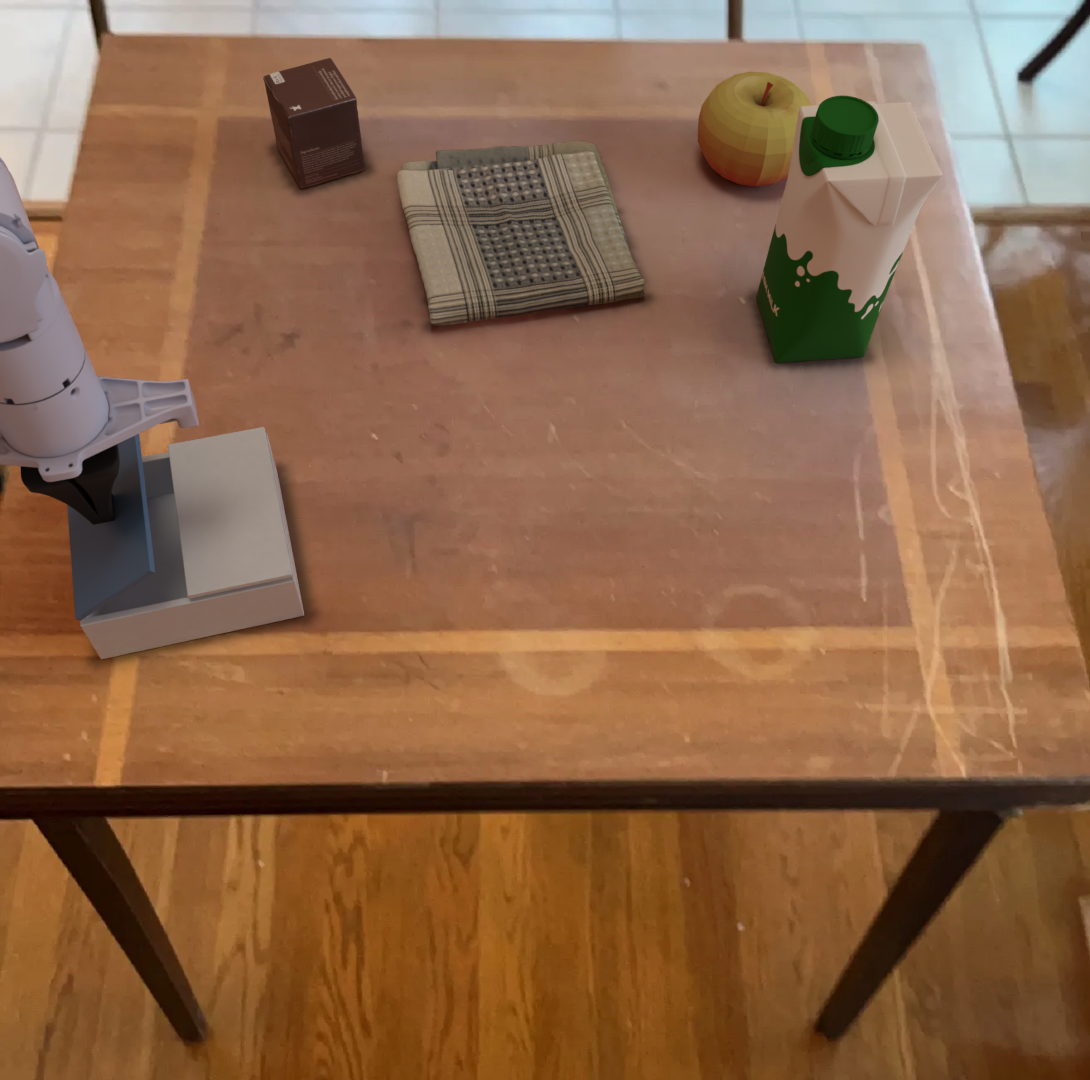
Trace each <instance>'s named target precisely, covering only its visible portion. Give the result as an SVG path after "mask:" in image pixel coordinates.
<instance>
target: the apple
mask: <svg viewBox="0 0 1090 1080" xmlns="http://www.w3.org/2000/svg"><path fill="white" fill-rule="evenodd" d="M801 106H812V104H811V101H810V98H808V96H807V95H806V93H805V92H804V91H803V90H802V89H801V88H800V87H799V86H798V85H797V84H796V83H794V82H793V81H790V80H789V79H787V78H785V77H783V76H780V75H777V74H773V73H769V72H767V71H766V72H765V71H747V72H746V71H745V72H741V73H736V74H734V75H732V76H730V77H728V78H726V79H725V80H723V81H721V82H719V83H717V84H716V85H715V86H714V88H713V89H712V91H711V92H710V93H709V94H708V95H707V97H706V99H705V100H704V101H703V102H702V104H701V108H700V111H699V115H698V124H697V143H698V145H699V148H700V150H701V153H702V155H703V157H704V159H705V160H706V162H707V164H708V165H709V166H710V167H711V169H713V171H715V172H716V173H717V174H718V175H720V176H721V177H722V178H723V179H726V180H728V181H729V182H730V181H731V182H733V183H735V184H736V185H737V184H738V185H743V186H748V187H766V186H772V185H773V184H774V185H775V184H776V183H779V182H781V181H784V180H786V179H787V178H788V174H789V168H790V163H791V157H792V151H793V145H794V139H795V132H796V126H797V120H798V113H799V108H800V107H801Z"/></svg>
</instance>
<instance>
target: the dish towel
mask: <svg viewBox="0 0 1090 1080" xmlns="http://www.w3.org/2000/svg"><path fill="white" fill-rule="evenodd" d="M599 151H600V150H599V148H598V145H597V144H596V143H590V142H587V141H583V140H580V141H573V140H570V141H566V142H554V143H549V144H539V145H527V146H522V145H521V146H519V145H518V146H517V145H512V146H511V145H510V146H505V145H499V146H496V147H485V148H483V147H482V148H470V149H441V150H436V151H435V158H436V160H429V159H427V160H426V159H424V160H421V161H420V160H419V161H407V162H405V163H403V164H401V168H400V169H401V170H399V171H397V174H396V184H397V189H398V194H399V200H400V202H401V209H402V211H403V214H404V217H405V220H406V223H407V227H408V231H409V232H408V234H409V237H410V243H411V245H412V247H413V252H414V253H413V254H414V255H415V257H416V262H417V265H418V270H419V272H420V276H421V277H420V278H421V281H422V283H423V289H424V292H425V295H426V301H427V305H428V306H427V310H428V312H429V313H428V314H429V318H428V319H429V324H430V325H432V326H450V325H460V324H467V323H471V322H479V321H485V320H495V319H500V318H505V317H513V316H521V315H531V314H535V313H543V312H546V311H555V310H561V309H564V310H566V309H571V308H580V307H585V306H593V305H600V304H608V303H615V302H619V301H626V300H629V299H637V298H642V297H644V296H645V295H646V291H645V289H644V286H645V279H644V278H643V276H642V275H641V274H640V273H641V272H640V271H639V269H638V267H637V265H636V263H635V261H634V258H633V256H632V253H631V250H630V247H629V243H628V240H627V237H626V233H625V229H624V227H623V224H622V220H621V218H620V214H619V211H618V208H617V204H616V201H615V198H614V194H613V190H612V188H611V187H612V186H611V185H610V180H609V178H608V173H607V171H606V168H605V165H604V163H603V161H602V157H601V155H600V152H599Z"/></svg>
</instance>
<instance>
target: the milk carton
mask: <svg viewBox="0 0 1090 1080" xmlns="http://www.w3.org/2000/svg"><path fill="white" fill-rule="evenodd" d="M943 176H944V175H943V172H942V170H941V168H940V166H939V163H938V161H937V159H936V157H935V154H934V153H933V150H932V148H931V146H930V143H929V141H928V138H927V137H926V135H925V132H924V130H923V128H922V126H921V123H920V120H919V119H918V116H917V115H916V112H915V110H914V108H913V105H912V103H911V102H910V101H900V102H880V103H879V102H877V103H876V102H875V101H872V100H871V101H868V100H867V101H866V100H863V99H862V98H859V97H855V96H852V95H835V96H830V97H828V98H826V99H824V100H822V101H821V103H820V104H816V105H815V104H814V105H811V106H801V107H800V108H799V113H798V120H797V126H796V132H795V139H794V145H793V151H792V157H791V163H790V168H789V174H788V178H786V179H787V180H786V183H785V187H784V189H783V190H784V191H783V194H782V197H781V202H780V206H779V210H778V213H777V216H776V221H775V225H774V228H773V232H772V235H771V240H770V243H769V247H768V250H767V254H766V257H765V263H764V265H763V270H762V273H761V277H760V281H759V284H758V288H757V292H756V296H755V298H756V302H757V307H758V309H759V312H760V316H761V319H762V322H763V325H764V329H765V333H766V335H767V336H766V337H767V339H768V342H769V346H770V349H771V352H772V356H773V359H774V362H775V363H776V364H777V363H793V362H806V361H820V360H834V359H836V360H837V359H849V358H862V357H865V356H866V353H867V349H868V346H869V344H870V340H871V338H872V335H873V332H874V329H875V327H876V324H877V322H878V318H879V315H880V314H881V310H882V308H883V305H884V302H885V300H886V297H887V294H888V291H889V289H890V287H891V283H892V281H893V279H894V276H895V274H896V272H897V269H898V267H899V263H900V261H901V258H902V256H903V253H904V252H905V248H906V246H907V244H908V241H909V239H910V237H911V234H912V231H913V228H914V226H915V224H916V221H917V218H918V216H919V213H920V212H921V211H920V210H921V208H922V207H923V204H925V201H926V200H927V198H928V197H929V196H930V195H931V193H932V191H933V190H934V189H935V187H936V186H937V184H938V183H939V181H940V180H941V179H942V177H943Z"/></svg>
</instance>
